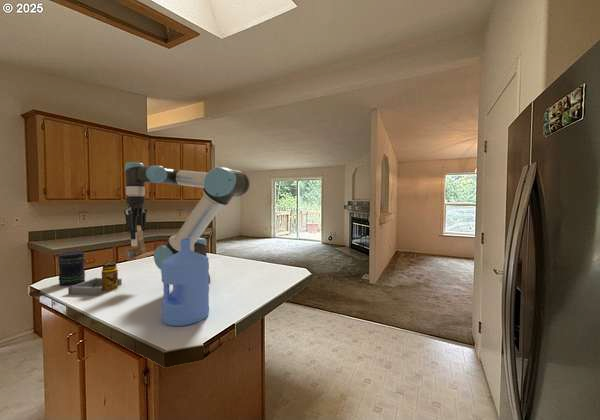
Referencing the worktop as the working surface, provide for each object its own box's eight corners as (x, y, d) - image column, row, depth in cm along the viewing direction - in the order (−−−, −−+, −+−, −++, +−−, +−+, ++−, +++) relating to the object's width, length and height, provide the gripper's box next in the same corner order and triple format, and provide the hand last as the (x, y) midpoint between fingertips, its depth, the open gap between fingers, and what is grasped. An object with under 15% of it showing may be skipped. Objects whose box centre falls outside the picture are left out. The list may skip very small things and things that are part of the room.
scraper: (155, 253, 128) (149, 223, 127) (142, 258, 118) (135, 225, 117) (141, 256, 128) (135, 226, 127) (127, 260, 118) (120, 228, 118)
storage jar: (54, 284, 126) (53, 254, 126) (77, 279, 135) (77, 250, 135) (66, 287, 123) (65, 256, 122) (89, 281, 132) (89, 252, 131)
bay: (121, 284, 127) (121, 278, 127) (97, 295, 113) (96, 288, 113) (95, 283, 128) (95, 277, 128) (68, 294, 114) (68, 287, 114)
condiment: (115, 290, 119) (115, 264, 118) (93, 292, 116) (93, 266, 116) (121, 285, 126) (120, 261, 125) (100, 287, 123) (100, 262, 123)
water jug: (200, 304, 104) (199, 235, 103) (216, 317, 92) (215, 239, 91) (156, 315, 94) (155, 238, 93) (168, 332, 82) (167, 244, 81)
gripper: (138, 196, 130) (140, 242, 131) (115, 195, 114) (117, 248, 115) (153, 196, 130) (154, 242, 131) (132, 195, 114) (133, 248, 115)
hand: (137, 245), depth 123 cm, fingers closed on scraper, 3 cm apart
